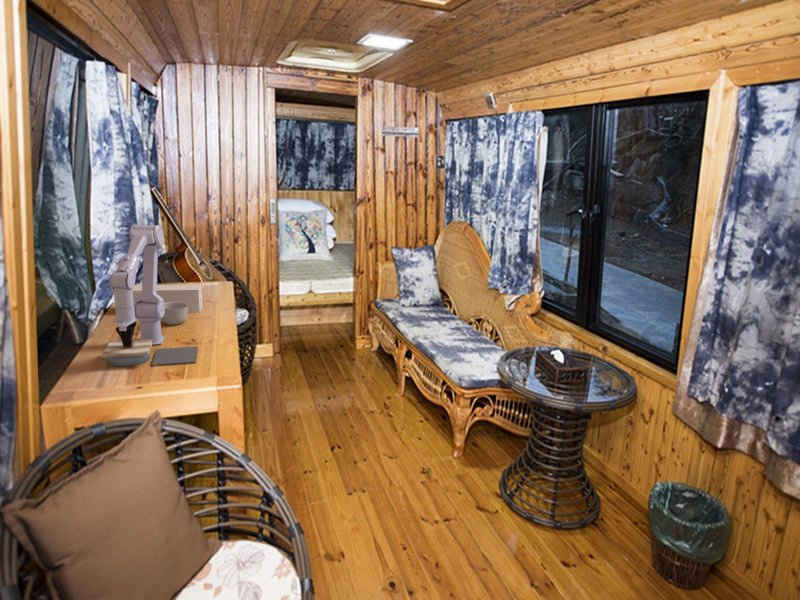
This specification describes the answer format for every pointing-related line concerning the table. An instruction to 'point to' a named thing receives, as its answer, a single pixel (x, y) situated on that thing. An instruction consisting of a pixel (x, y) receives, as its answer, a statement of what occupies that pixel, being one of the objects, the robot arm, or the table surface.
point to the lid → (127, 348)
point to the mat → (175, 356)
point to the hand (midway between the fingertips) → (128, 344)
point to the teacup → (175, 313)
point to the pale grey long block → (177, 295)
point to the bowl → (128, 360)
